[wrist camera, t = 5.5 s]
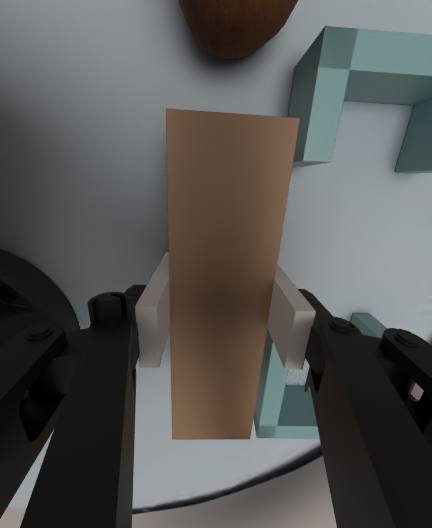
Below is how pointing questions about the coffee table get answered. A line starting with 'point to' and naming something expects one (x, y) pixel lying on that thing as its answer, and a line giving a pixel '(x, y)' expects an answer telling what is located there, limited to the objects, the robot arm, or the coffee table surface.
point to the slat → (222, 261)
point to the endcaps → (320, 151)
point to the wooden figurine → (235, 24)
